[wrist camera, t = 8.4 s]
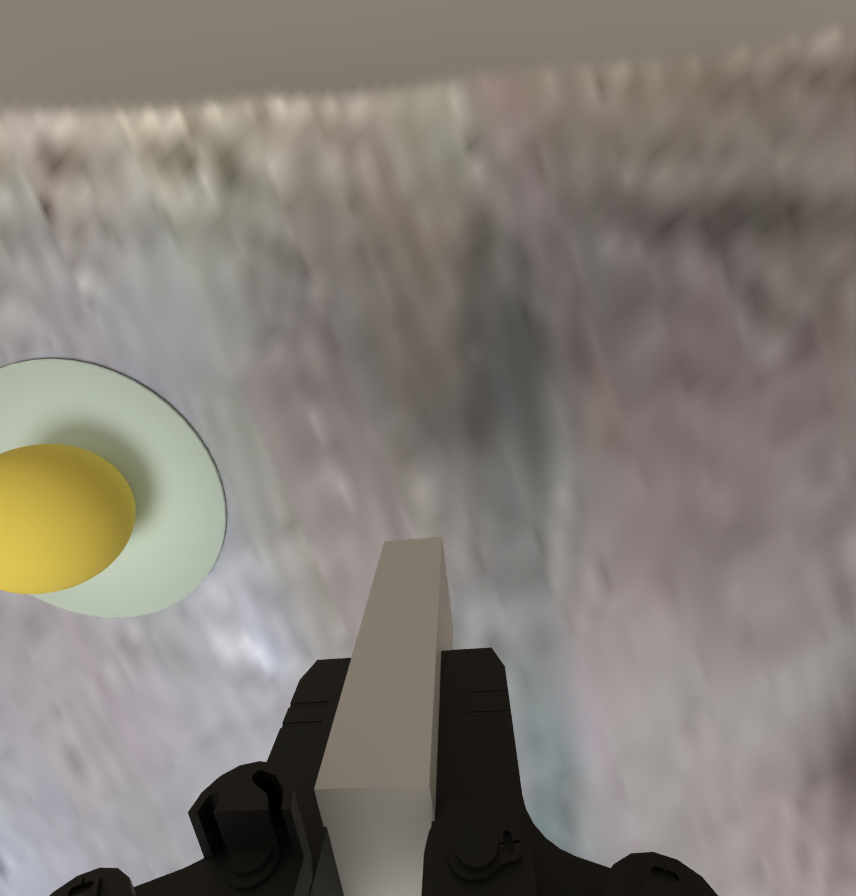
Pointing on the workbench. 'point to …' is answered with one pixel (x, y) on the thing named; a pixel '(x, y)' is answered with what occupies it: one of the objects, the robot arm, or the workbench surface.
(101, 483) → the ball
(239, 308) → the workbench surface
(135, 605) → the mark
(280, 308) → the workbench surface
